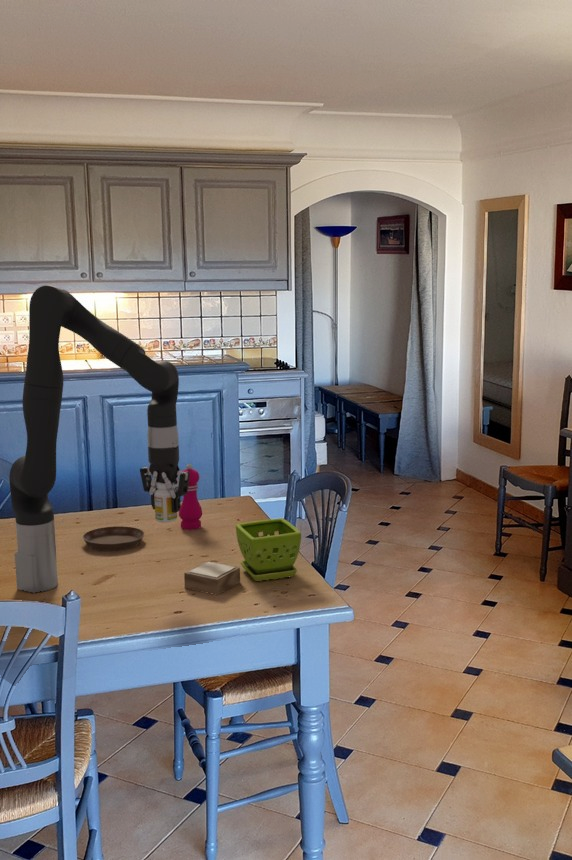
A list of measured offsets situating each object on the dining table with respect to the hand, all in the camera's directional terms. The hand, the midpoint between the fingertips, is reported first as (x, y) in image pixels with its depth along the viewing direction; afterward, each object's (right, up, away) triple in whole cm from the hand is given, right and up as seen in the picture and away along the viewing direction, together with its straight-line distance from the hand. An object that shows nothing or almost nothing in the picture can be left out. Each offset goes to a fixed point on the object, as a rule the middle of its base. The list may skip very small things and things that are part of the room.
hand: (166, 510), depth 214 cm
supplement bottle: (0, -3, +1) cm, 3 cm away
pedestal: (+11, -19, +4) cm, 23 cm away
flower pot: (+25, -18, +12) cm, 33 cm away
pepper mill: (0, -10, +53) cm, 54 cm away
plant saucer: (-21, -14, +38) cm, 45 cm away
